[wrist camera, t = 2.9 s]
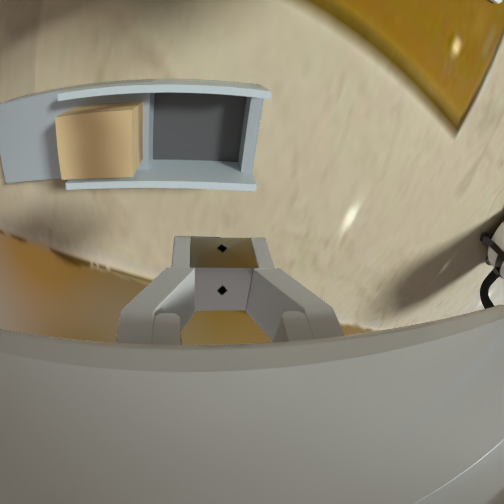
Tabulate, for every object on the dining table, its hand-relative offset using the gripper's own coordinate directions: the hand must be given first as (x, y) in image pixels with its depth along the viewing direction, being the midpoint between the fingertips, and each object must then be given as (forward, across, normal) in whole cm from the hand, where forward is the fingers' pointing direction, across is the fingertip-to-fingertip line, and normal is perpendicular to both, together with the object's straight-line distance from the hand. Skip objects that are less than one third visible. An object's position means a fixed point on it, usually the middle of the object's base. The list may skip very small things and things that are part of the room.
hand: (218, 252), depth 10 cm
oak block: (+16, +8, 0) cm, 18 cm away
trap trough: (+19, +8, 0) cm, 20 cm away
